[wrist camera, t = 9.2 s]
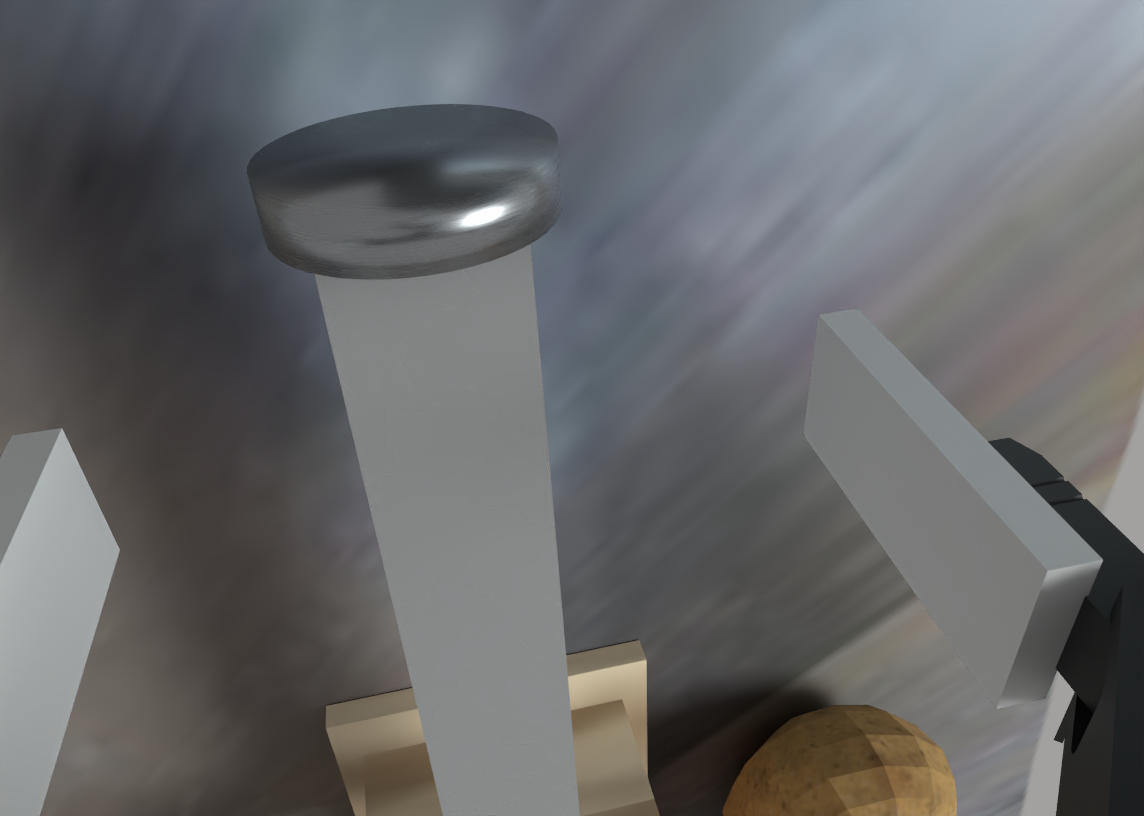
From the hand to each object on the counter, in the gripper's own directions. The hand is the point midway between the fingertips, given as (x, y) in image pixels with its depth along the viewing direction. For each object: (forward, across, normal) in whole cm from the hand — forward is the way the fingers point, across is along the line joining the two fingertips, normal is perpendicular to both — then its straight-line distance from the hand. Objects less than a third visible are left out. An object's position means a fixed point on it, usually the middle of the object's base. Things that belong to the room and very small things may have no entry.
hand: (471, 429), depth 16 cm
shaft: (+5, 0, -9) cm, 10 cm away
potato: (+9, +13, -28) cm, 32 cm away
